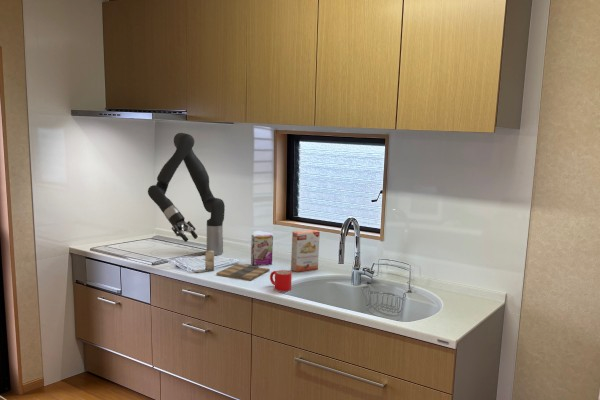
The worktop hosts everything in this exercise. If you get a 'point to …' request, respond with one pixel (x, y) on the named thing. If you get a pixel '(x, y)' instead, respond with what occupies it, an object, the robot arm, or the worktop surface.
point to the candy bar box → (261, 249)
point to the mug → (281, 280)
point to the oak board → (243, 272)
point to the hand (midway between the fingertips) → (191, 239)
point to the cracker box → (305, 250)
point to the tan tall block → (209, 260)
